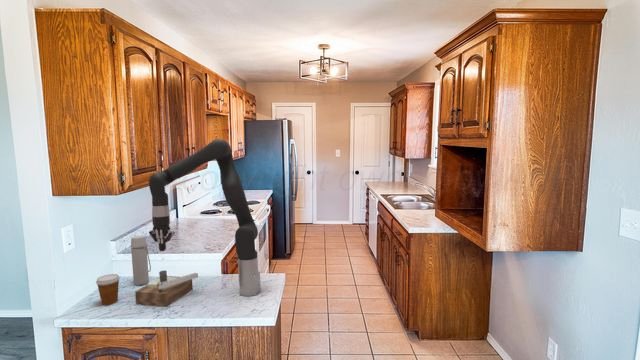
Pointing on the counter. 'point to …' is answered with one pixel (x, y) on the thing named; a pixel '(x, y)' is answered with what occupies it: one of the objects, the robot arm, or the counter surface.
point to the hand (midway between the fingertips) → (162, 250)
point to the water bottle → (140, 260)
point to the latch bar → (176, 281)
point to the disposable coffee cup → (108, 288)
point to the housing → (163, 294)
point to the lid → (161, 279)
